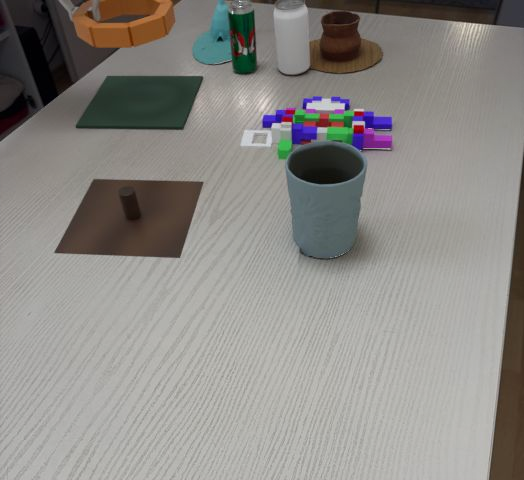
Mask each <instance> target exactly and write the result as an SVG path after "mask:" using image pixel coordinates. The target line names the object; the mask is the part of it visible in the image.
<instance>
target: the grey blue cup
mask: <svg viewBox="0 0 524 480" xmlns="http://www.w3.org/2000/svg"><path fill="white" fill-rule="evenodd" d="M284 169H285V176H286V177H285V178H286V185H287V192H288V196H289V197H288V198H289V205H290V214H291V217H292V218H291V230H292V237H293V241H294V243H295V245H296V246H297V247H298V248H299V250H298V251H299V252H300V251H301V252H300V253H302V254H303V253H304V254H303V255H305V254H306V255H305V256H307V255H308V256H313V257H318V258H330V257H335V256H339V255H341V254H343V253H345V252H347V251H348V250H349V249H350V248H351V247H352V246H353V247H354V245H355V243H356V238H357V232H358V227H359V226H358V225H359V219H360V214H361V213H360V212H361V207H362V204H361V198H362V197H363V192H364V185H365V182H366V177H367V176H366V175H367V170H368V159H367V157H366V155H365V154H364V153H363V151H362V152H361V151H360V150H358V149H357V148H355V147H354V146H352V145H349V144H346V143H341V142H335V141H319V142H313V143H308V144H302V145H300V146H298V147H297V148H295V149H293V150H291V153H290V154H289V155H288V157H287V159H285V163H284ZM354 242H355V243H354ZM353 244H354V245H353ZM353 247H352V248H353ZM352 248H351V249H352ZM348 252H349V251H348ZM348 252H347V253H348ZM308 256H307V257H308ZM313 257H312V258H313Z"/></svg>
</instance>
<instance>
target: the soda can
mask: <svg viewBox="0 0 524 480" xmlns="http://www.w3.org/2000/svg"><path fill="white" fill-rule="evenodd" d="M228 7H229V8H228V21H229V33H230V44H231V56H232V61H231V65H232V70H233V71H234V72H235V73H236V74H240V75H246V74H247V75H248V74H251V73H253V72H255V71H256V69H257V68H258V53H257V36H256V17H255V7H254V6H253V2H252V1H251V0H232V1H229V3H228Z"/></svg>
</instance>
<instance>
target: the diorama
mask: <svg viewBox="0 0 524 480" xmlns="http://www.w3.org/2000/svg"><path fill="white" fill-rule="evenodd" d="M228 8H229V5H228V4H227V3H226V1H225V0H217V4H216V8H215V9H214V10H215V11H214V12H213V15H212V19H211V24H210V28H209V29H208V30H207V31H205V32H203V33H202V34H200V35H199V36H198V37H197V38H196V39H195V41H194V42H193V45H192V49H191V50H192V52H191V53H192V56H193V57H194V59H195V60H196V59H197V60H196V61H197V62H199V63H201V62H202V63H201V64H204V63H205V64H204V65H207V64H209V63H210V64H215V63H220V62H223V61H227V60H231V59H232V56H231V44H230V33H229V21H228Z"/></svg>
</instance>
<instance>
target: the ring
mask: <svg viewBox="0 0 524 480" xmlns="http://www.w3.org/2000/svg"><path fill="white" fill-rule="evenodd" d="M92 4H93V0H86V1H85V2H82V4H80V6H78V7H79V8H78V9H77V11H76V12H75V13H74V14H73V15H72V19H73V21H72V23H73V26H74V29H75V32H76V36H77V38H79V39H81V40H82V41H84V42H85V43H87V45H89V46H91V47H93V48H94V47H95V48H97V49H98V48H100V49H101V48H103V49H105V48H109V49H110V48H115V49H116V48H117V49H119V48H121V49H123V48H124V49H129V48H130V49H131V48H132V47H134V48H136V47H140V46H142V45H145V44H149V43H151V42H154V41H157V40H161V39H162V38H163V39H164V38H165V37H167V36H168V35H169V34H170V32H171V30H172V28H173V27H174V25H175V23H176V15H175V9H174V2H173V1H172V0H100V3H99V7H98V8H99V12H100V20H99V21H93V20H92V19H90V18H89V15H88V12H87V10H88V9H89V7H92ZM120 16H145V17H142V18H139V19H136V20H132V21H129V22H104V21H108V20H111V19H114V18H117V17H120Z"/></svg>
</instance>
